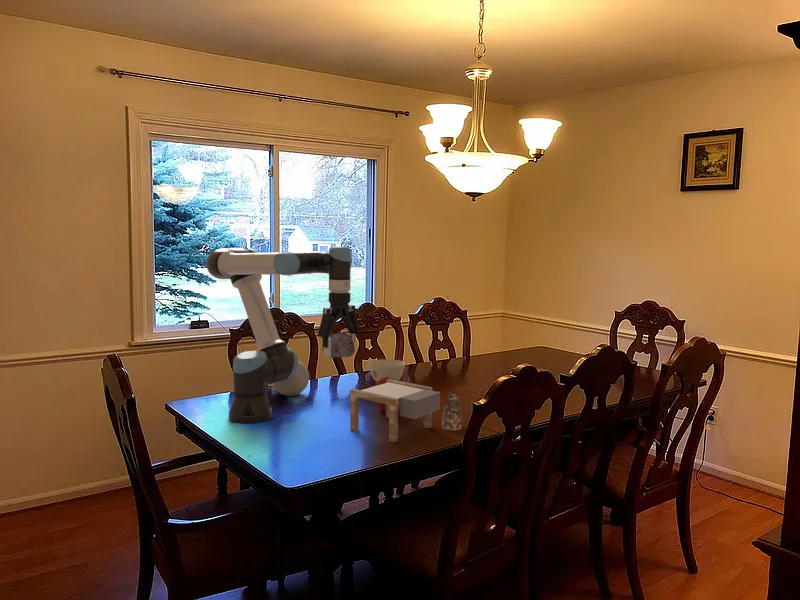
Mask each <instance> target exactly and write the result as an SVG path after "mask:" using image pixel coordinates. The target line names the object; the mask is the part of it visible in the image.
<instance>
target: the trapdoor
mask: <svg viewBox="0 0 800 600" xmlns="http://www.w3.org/2000/svg"><path fill="white" fill-rule="evenodd" d="M361 390H362V391H366V392H370V393H375V394H379V395H384V396H388V397H393V398H397V399H398V401H399V405H400V406H399V416H400V417H404V418H408V419H413V420H416V419H420V418H422V417H424V416H425V415H427V414H430V413H432V414H433V413H436V412H438V411H440V410H441V392H440V391H436V390H435V391H434V390H432V391H431V390H423V389H419V388H414V387H409V386H404V385H399V384H394V383H389V382H388V383H385V384H381V385H378V386H375V385H374V386H371V387H368V388H364V389H361Z"/></svg>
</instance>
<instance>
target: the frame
mask: <svg viewBox="0 0 800 600" xmlns="http://www.w3.org/2000/svg"><path fill="white" fill-rule="evenodd" d="M388 382H389V383H394V384H399V385H404V386H409V387H414V388H419V389H423V390H431V391H433V386H432V387H431V386H426V385H421V384H417V383H411V382H407V381H406V382H405V381H401V380H399V381H397V380H392V379H388V380H386V383H388ZM362 390H363V389H356V388H353V389H350V395H349V396H350V397H349V398H350V408H349V409H350V411H349V413H350V414H349V415H350V418H349V421H350V426H349V428H350V431H352V432H356V431H359V429H360V428H359V427H360V425H359V423H360V422H359V421H360V420H359V419H360V413H359V412H360V408H359V407H360V399H363V400H366V401H371V402H375V403H377V402H379V403H383V404H386V412H385V418H386V419H388V441H389V442H390V443H396V442H398V441H399V440H398V439H399V438H398V437H399V434H398V433H399V432H398V431H399V403H398V399H397V398H393V397H388V396H384V395H379V394H375V393H370V392H366V391H362ZM432 421H433V413H430V414H427V415H425V416H423V428H425V429H430V428H432V425H433V424H432V423H433V422H432Z"/></svg>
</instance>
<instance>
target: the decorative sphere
mask: <svg viewBox="0 0 800 600" xmlns="http://www.w3.org/2000/svg"><path fill="white" fill-rule="evenodd" d="M309 381H310V371H309V370H308V367H307V366H306V364H304V363H303V362H302V361H301V360H298V368H297V371H296V373H295V375H294V376H293V377H291V378H289V379H287V380H285V381H279V382H275V383H272V385H273V387H274V388H275V390H276V391H277V392H278V393H280V394H281V395H283V396H285V397H286V396H287V397H294V396H297V395H299V394H301V393H302V392H304V391H305V390H306V389H307V387H308V384H309Z"/></svg>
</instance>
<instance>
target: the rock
mask: <svg viewBox="0 0 800 600" xmlns="http://www.w3.org/2000/svg"><path fill="white" fill-rule="evenodd" d="M329 338H331V357H328V358H329V359H335V358H348V357H349V358H350V357H352V356H353V355H354V354H355V351H356V350H355V348H356V347H355V342H353V339H352V336H349V335H348V334H347V333H346V332H344V331H341V332H337V333H331V335H330V336H329ZM321 351H322V354H323V355H324V347H323V346H322V348H321Z"/></svg>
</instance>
